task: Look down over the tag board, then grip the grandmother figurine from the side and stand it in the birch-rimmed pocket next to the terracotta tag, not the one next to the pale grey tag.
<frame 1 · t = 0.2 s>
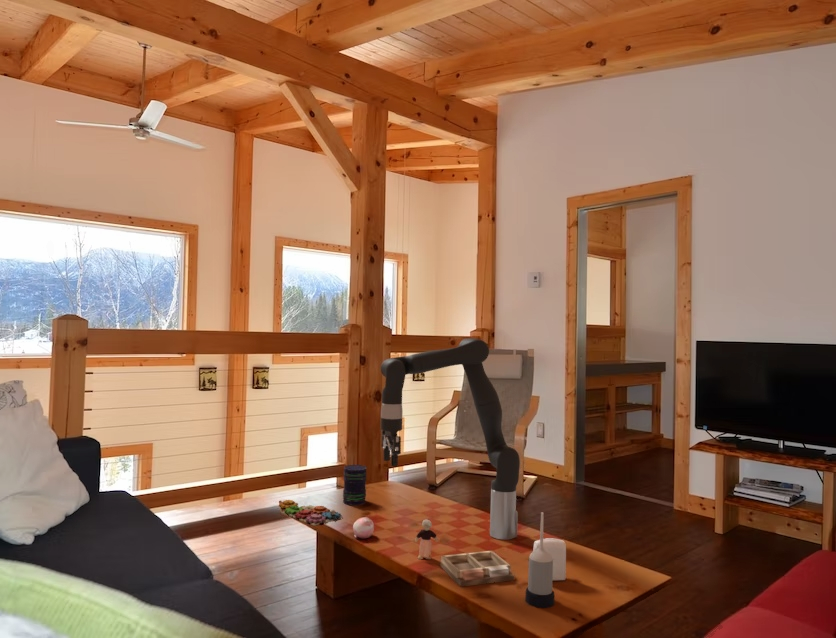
hand: (390, 463, 213), 29 cm above the table, tool pointing down, fingers open, 8 cm apart
grandmother figurine: (425, 558, 204), on the table
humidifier: (539, 602, 174), on the table
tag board: (476, 573, 193), on the table
photo printer: (549, 579, 190), on the table
onion: (363, 537, 223), on the table
storage jar: (354, 502, 266), on the table
gear puzzle: (306, 514, 249), on the table
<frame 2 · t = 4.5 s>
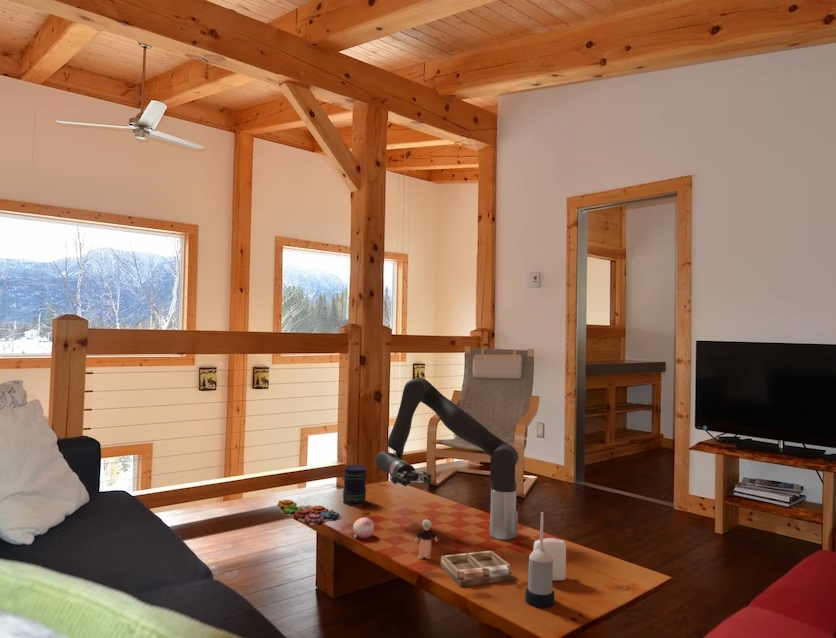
hand: (417, 482, 214), 22 cm above the table, tool horizontal, fingers open, 8 cm apart
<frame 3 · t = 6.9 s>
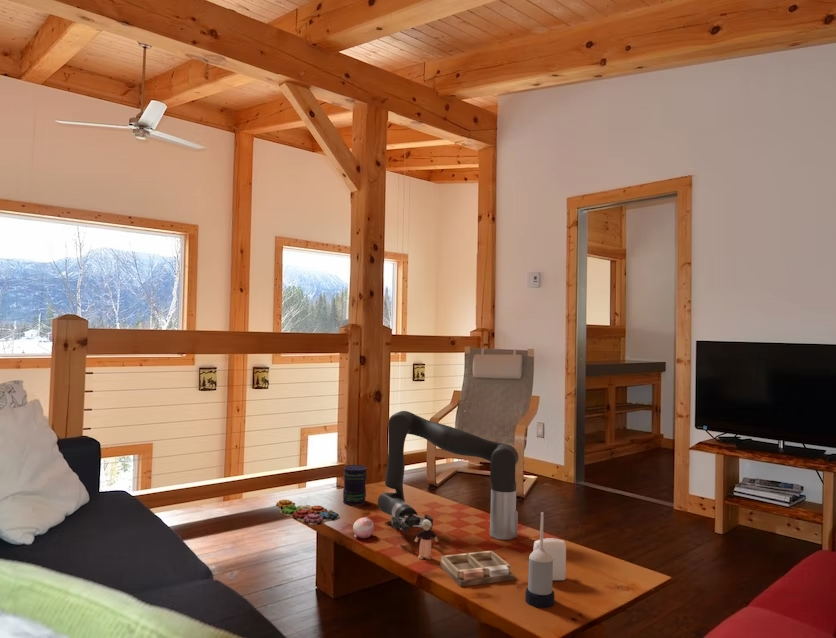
hand: (418, 528, 212), 7 cm above the table, tool horizontal, fingers open, 8 cm apart
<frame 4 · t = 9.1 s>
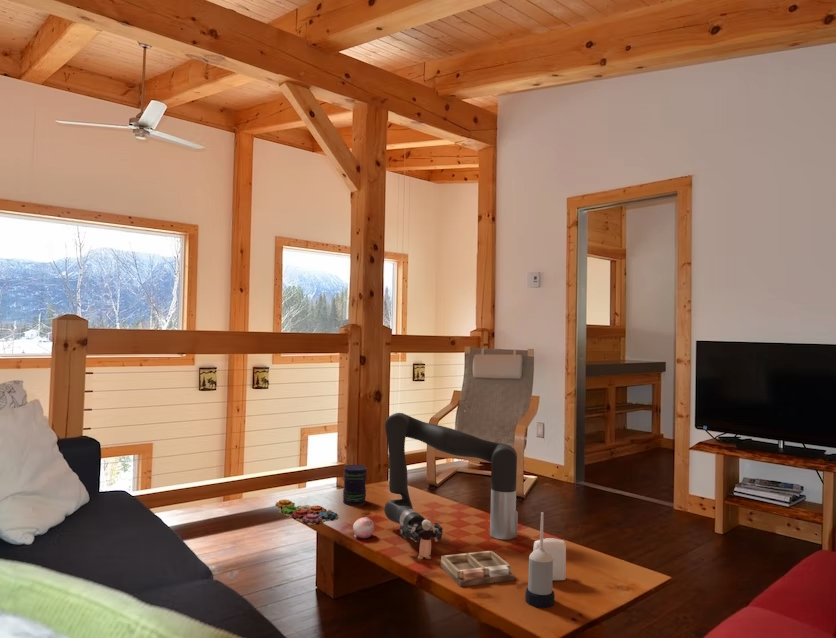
hand: (429, 538, 202), 7 cm above the table, tool horizontal, fingers closed on grandmother figurine, 7 cm apart
grandmother figurine: (426, 558, 204), on the table, touching gripper
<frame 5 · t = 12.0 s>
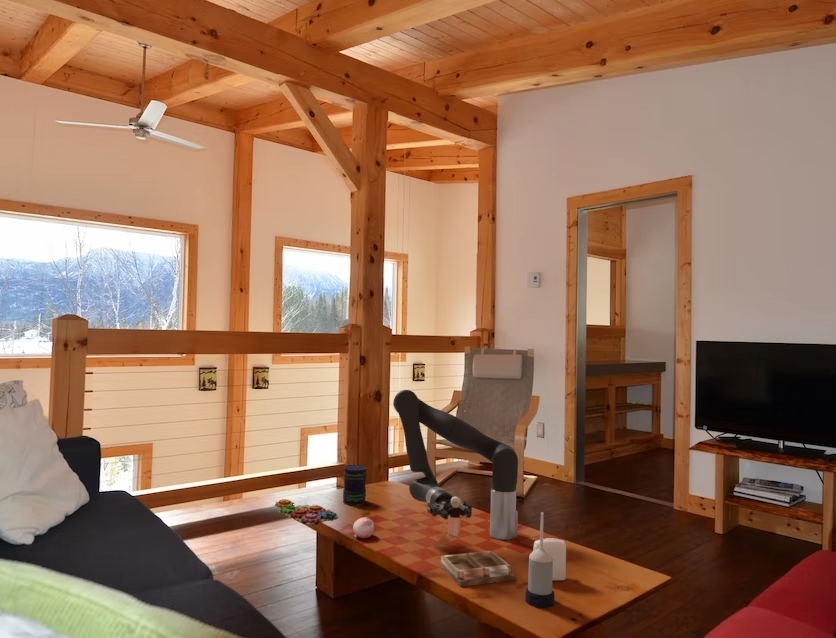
hand: (458, 515, 193), 18 cm above the table, tool horizontal, fingers closed on grandmother figurine, 7 cm apart
grandmother figurine: (454, 536, 195), point 10 cm above the table, touching gripper
when the fingers open (10 cm above the table, at t = 14.9 s): grandmother figurine drops 1 cm, resting on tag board.
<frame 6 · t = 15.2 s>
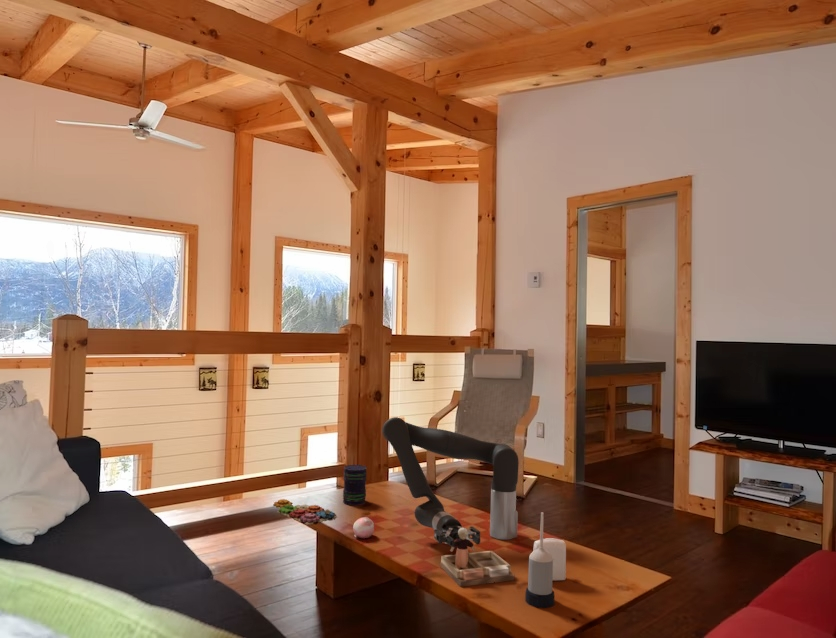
hand: (466, 542, 191), 10 cm above the table, tool horizontal, fingers open, 8 cm apart
grandmother figurine: (462, 568, 192), point 1 cm above the table, touching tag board
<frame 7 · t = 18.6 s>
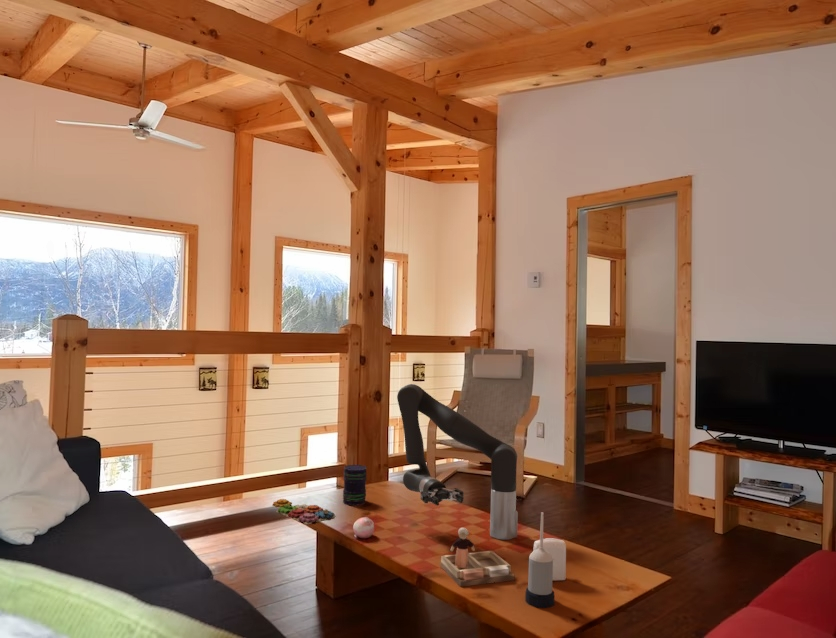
hand: (449, 501, 205), 19 cm above the table, tool horizontal, fingers open, 8 cm apart
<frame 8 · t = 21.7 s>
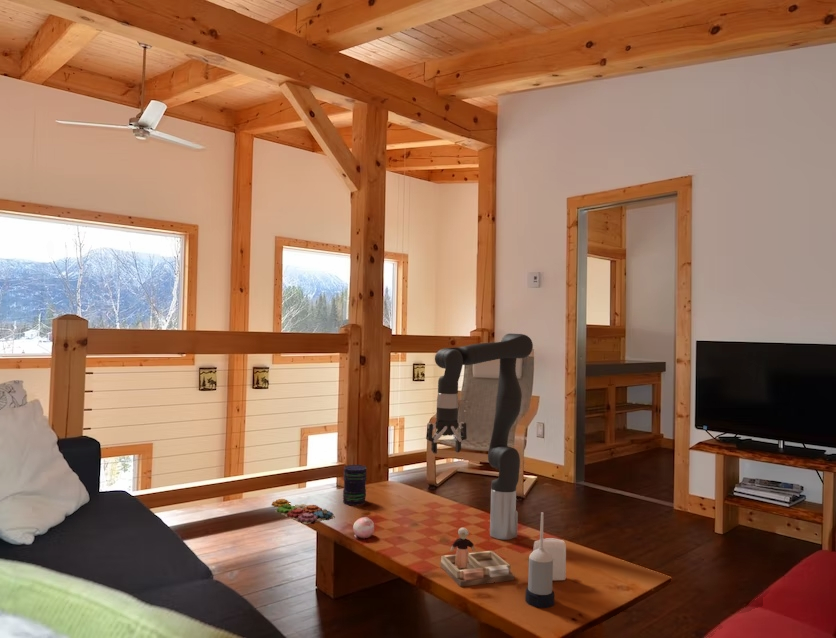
hand: (446, 452, 214), 33 cm above the table, tool pointing down, fingers open, 8 cm apart
at the end: grandmother figurine 0.2 cm from the target spot on the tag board, point 1.3 cm above the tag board's base; grandmother figurine tilted 0°; the gripper is holding nothing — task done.
